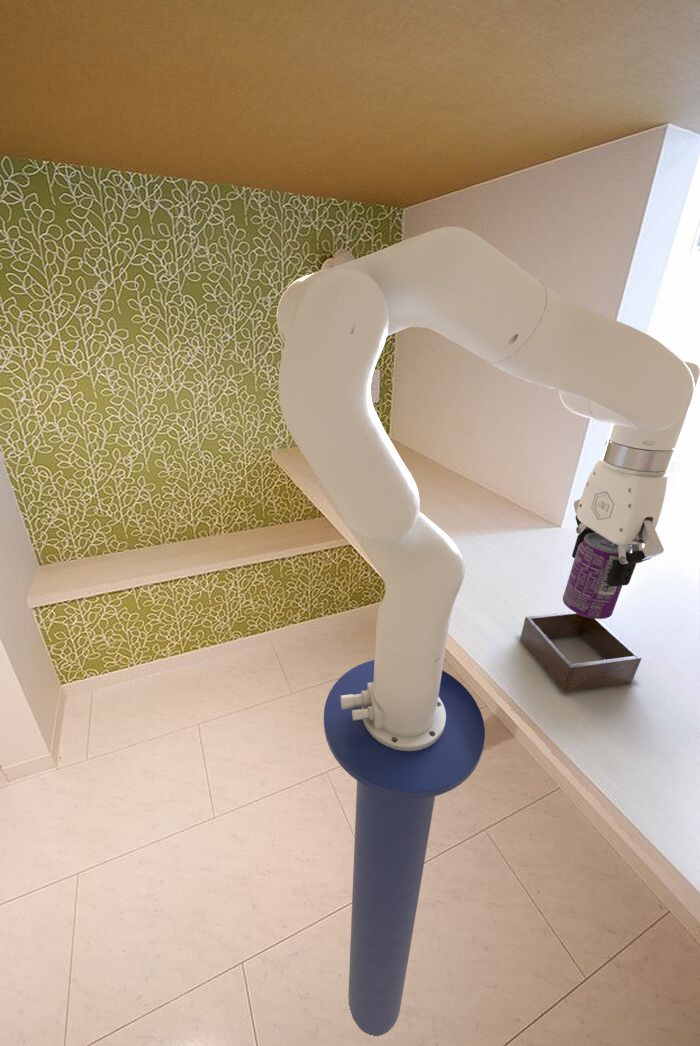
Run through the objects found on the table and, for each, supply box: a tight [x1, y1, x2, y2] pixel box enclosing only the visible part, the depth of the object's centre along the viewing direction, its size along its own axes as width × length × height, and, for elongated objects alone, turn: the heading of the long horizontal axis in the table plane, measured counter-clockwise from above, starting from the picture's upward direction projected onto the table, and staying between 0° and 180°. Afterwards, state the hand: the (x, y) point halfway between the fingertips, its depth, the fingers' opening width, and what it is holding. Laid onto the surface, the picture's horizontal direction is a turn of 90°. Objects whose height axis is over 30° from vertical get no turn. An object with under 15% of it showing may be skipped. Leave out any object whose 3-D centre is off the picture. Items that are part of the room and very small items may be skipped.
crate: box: [519, 611, 642, 693], centre depth 72 cm, size 12×12×5 cm
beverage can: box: [562, 533, 632, 620], centre depth 66 cm, size 7×7×12 cm
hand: (598, 569), depth 66 cm, fingers closed on beverage can, 7 cm apart
